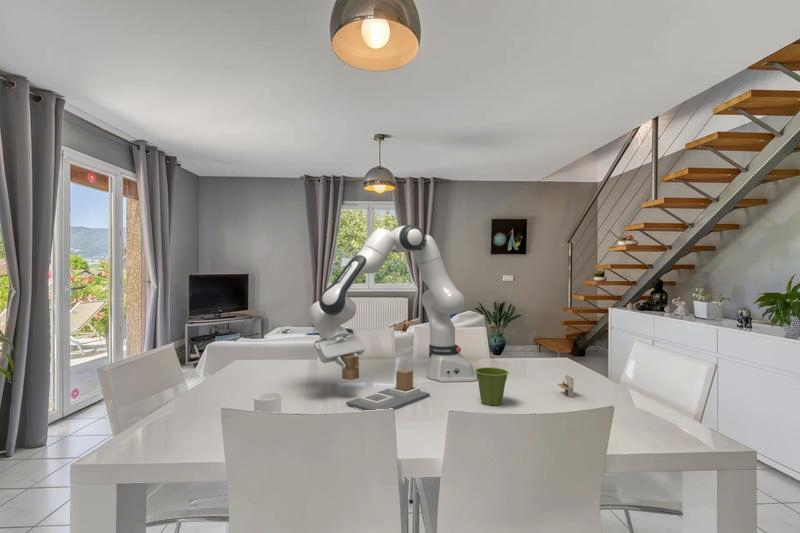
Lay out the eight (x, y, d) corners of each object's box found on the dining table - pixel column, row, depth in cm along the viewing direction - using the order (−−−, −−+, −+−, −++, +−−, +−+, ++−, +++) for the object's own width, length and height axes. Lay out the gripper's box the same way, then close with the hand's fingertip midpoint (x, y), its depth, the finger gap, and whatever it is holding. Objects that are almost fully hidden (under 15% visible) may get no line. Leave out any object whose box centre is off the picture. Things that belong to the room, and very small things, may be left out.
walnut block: (351, 375, 158) (350, 354, 158) (359, 377, 155) (358, 356, 155) (342, 378, 155) (341, 356, 155) (350, 380, 152) (349, 358, 152)
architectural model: (564, 398, 153) (564, 378, 153) (557, 393, 160) (557, 373, 160) (573, 398, 153) (573, 378, 153) (566, 393, 160) (565, 373, 160)
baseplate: (397, 388, 166) (397, 365, 166) (429, 396, 156) (429, 371, 156) (346, 405, 146) (346, 378, 146) (379, 415, 135) (379, 387, 135)
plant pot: (502, 410, 140) (502, 376, 140) (469, 404, 146) (469, 372, 146) (513, 401, 150) (513, 369, 150) (482, 396, 156) (481, 365, 156)
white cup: (273, 436, 119) (273, 400, 119) (248, 434, 120) (248, 399, 120) (286, 426, 126) (286, 392, 127) (262, 424, 128) (262, 391, 128)
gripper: (315, 335, 152) (333, 366, 145) (357, 329, 167) (374, 356, 161) (308, 346, 155) (325, 377, 148) (349, 339, 170) (366, 366, 164)
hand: (351, 366), depth 155 cm, fingers closed on walnut block, 4 cm apart
